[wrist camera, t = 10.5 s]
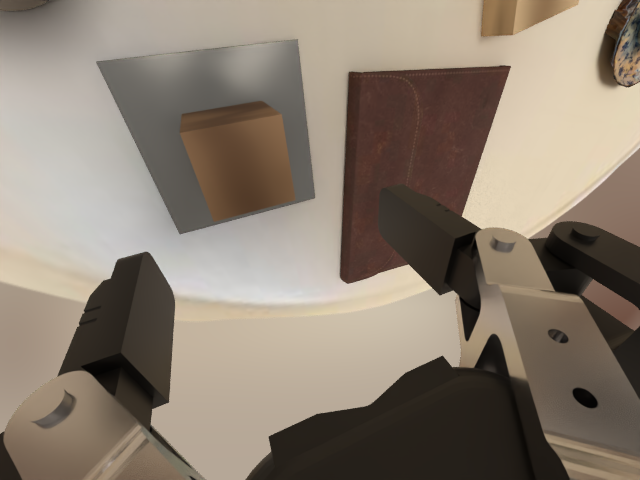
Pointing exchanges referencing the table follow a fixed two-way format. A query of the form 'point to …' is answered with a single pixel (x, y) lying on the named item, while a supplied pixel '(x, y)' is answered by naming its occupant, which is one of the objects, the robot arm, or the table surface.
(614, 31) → the burger
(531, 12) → the oak block
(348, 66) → the table surface
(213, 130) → the walnut block
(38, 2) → the supplement bottle
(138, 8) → the table surface
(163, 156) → the coaster
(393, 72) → the notebook
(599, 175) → the table surface
